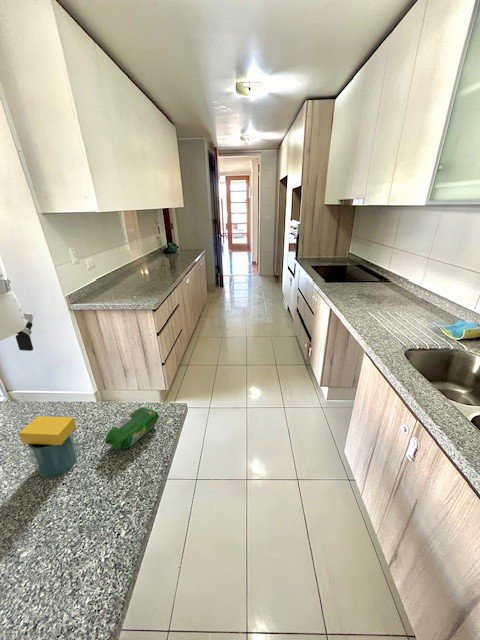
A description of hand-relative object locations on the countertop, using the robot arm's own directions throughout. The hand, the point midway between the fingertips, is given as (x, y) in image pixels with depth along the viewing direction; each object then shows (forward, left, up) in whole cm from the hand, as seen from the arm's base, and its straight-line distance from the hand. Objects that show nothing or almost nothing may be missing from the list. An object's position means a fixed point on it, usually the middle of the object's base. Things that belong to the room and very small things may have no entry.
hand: (9, 359), depth 61 cm
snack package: (+25, +4, -26) cm, 36 cm away
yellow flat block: (+10, -6, -17) cm, 20 cm away
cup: (+10, -6, -26) cm, 28 cm away
